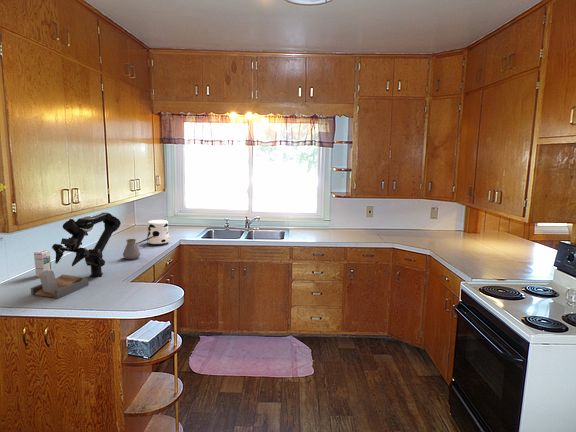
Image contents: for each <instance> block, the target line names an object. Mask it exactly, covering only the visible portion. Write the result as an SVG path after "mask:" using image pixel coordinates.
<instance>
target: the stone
mask: <svg viewBox="0 0 576 432" xmlns="http://www.w3.org/2000/svg"><path fill="white" fill-rule="evenodd" d="M38 278H39V279H40V280H39V281H40V283H41V284H42V287H43V290H44V292H49V293H52V292H53V291H55V290H56V289H58V286H57V282H56V276H55V273H54V271H53V270H51V271H48V270H46V271H44V272H42V273H41V274H39V277H38Z"/></svg>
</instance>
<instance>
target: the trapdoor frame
mask: <svg viewBox="0 0 576 432" xmlns="http://www.w3.org/2000/svg"><path fill="white" fill-rule="evenodd" d="M80 277H81V280H80V281H77V282H75V283H72V284H70V285H68V286H65V287H63V288H60V289H58V290H55V291H54V293H55V298H54V299H56V300H58V299H60V298H63V297H65V296H67V295H69V294H72V293H74V292H76V291H78V290H81V289H83V288H86V287H88V286H89V285H90V284H89V277H82V276H80ZM57 278H58V277H55V279H57ZM42 288H43V287H42V283H41V284H37V285H34V286H33V287H30V295H33V296H32V297H35V296H36V295H35V293H36V292H37V291H39V290H40V289H42ZM34 295H35V296H34Z"/></svg>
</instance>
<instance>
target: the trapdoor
mask: <svg viewBox="0 0 576 432" xmlns="http://www.w3.org/2000/svg"><path fill="white" fill-rule="evenodd" d="M81 277H82V276H79V275H68V274H61V275H60V276H59V277H56V278H57V279H56V278H55V279H56V282H57V286H58V289H60V288H63V287H65V286H68V285H70V284H72V283H75V282H77V281H80V280H81ZM58 289H56V290H58ZM35 296H40V297H45V298H46V297H48V298H54V299H55V293H54V291H53V292H52V293H49V292H44V290H43V288H42V289H40V290H39V291H37V292H36V293H35Z"/></svg>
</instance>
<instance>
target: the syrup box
mask: <svg viewBox="0 0 576 432" xmlns="http://www.w3.org/2000/svg"><path fill="white" fill-rule="evenodd" d="M33 258H34V259H33V260H34V261H33V262H34V268H35V270H34V271H35V277H38V278H40V277H39V274H41V273H42V272H44V271H46V270H48V271H52V263H51V252H50V250H44V249H43V250H39V251H36V252H33Z"/></svg>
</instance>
